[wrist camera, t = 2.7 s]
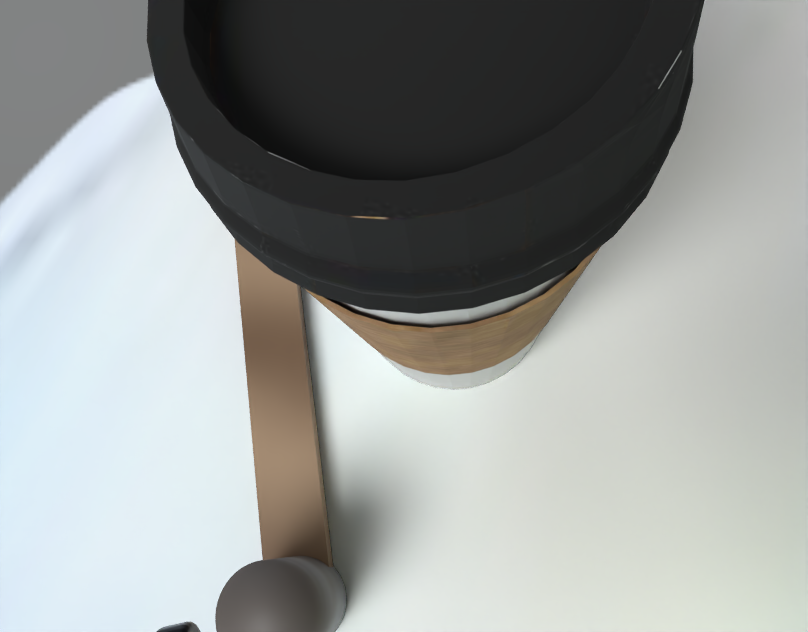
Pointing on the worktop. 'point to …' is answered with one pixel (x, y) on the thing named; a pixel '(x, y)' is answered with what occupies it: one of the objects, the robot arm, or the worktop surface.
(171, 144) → the worktop surface
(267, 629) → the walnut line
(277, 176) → the coffee cup
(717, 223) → the worktop surface
